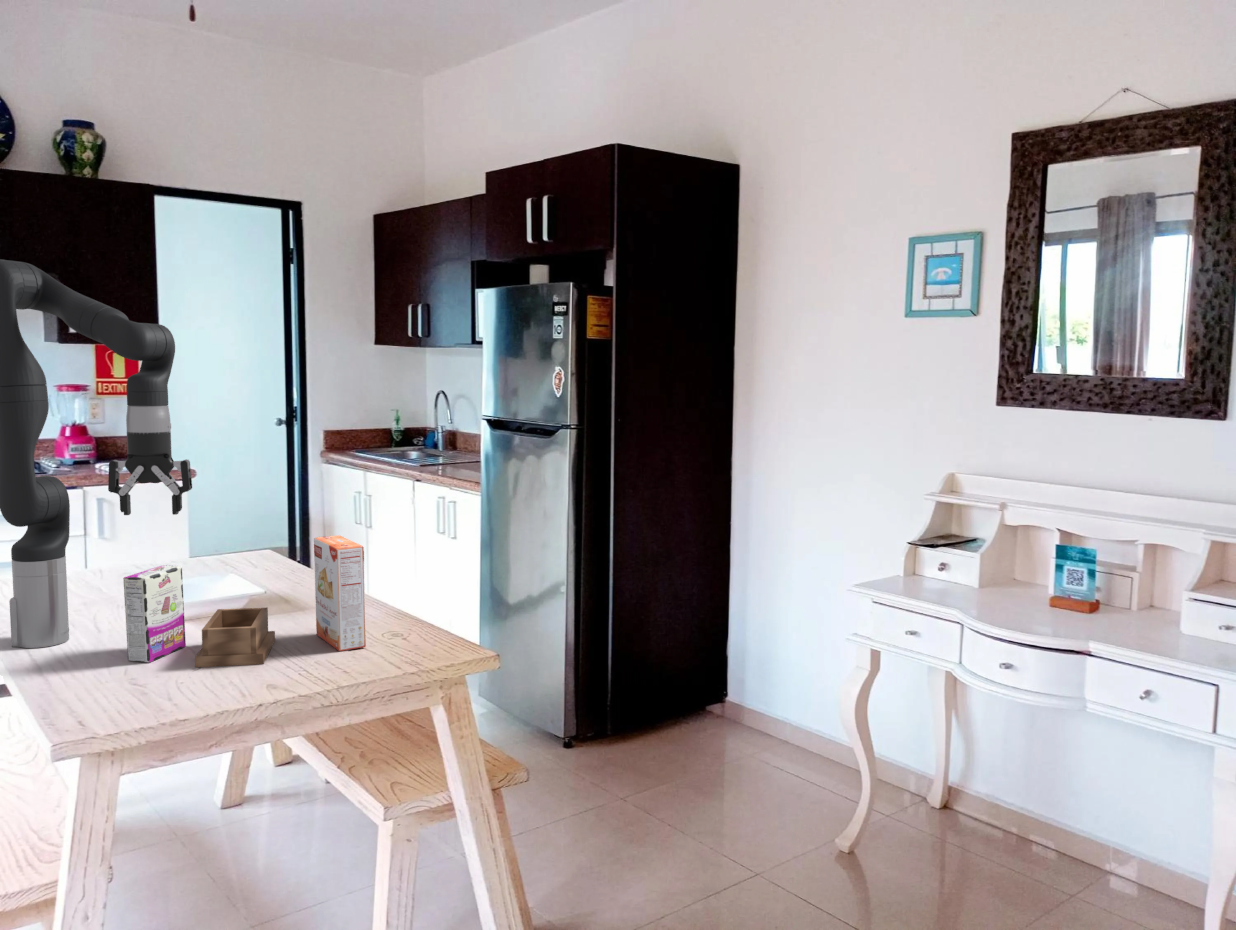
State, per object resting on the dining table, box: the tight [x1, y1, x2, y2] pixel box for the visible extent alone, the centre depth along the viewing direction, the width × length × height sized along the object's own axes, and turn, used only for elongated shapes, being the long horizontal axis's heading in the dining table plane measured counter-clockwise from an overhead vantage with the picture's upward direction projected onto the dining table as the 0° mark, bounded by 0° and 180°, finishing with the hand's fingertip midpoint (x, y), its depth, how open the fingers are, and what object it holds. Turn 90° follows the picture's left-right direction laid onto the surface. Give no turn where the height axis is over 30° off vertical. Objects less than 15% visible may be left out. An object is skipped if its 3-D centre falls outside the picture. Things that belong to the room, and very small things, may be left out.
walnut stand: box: [194, 607, 276, 668], centre depth 188 cm, size 12×16×7 cm
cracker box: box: [313, 534, 367, 652], centre depth 196 cm, size 14×6×21 cm, turn 35°
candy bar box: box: [123, 564, 187, 664], centre depth 186 cm, size 11×5×16 cm, turn 168°
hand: (151, 514), depth 184 cm, fingers open, 8 cm apart
